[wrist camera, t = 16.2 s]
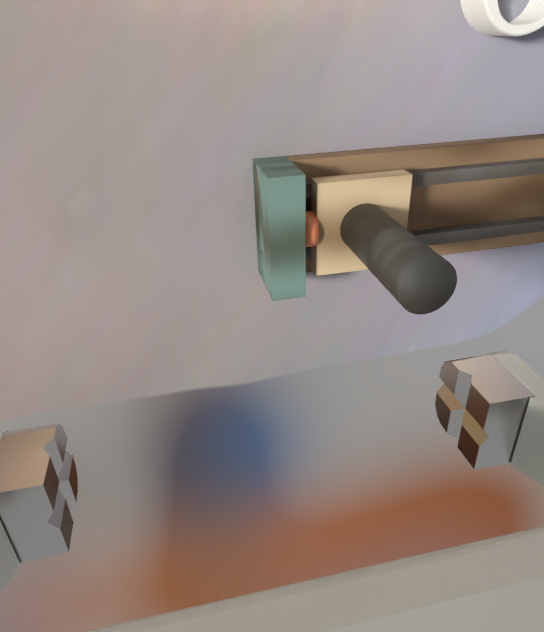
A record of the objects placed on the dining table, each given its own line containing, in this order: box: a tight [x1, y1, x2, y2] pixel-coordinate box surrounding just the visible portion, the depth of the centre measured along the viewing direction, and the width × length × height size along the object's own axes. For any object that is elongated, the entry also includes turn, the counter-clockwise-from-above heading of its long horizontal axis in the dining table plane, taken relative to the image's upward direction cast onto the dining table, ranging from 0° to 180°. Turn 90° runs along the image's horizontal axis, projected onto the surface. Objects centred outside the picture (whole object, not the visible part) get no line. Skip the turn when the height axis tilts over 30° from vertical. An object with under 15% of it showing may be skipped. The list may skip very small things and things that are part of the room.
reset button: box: [306, 210, 319, 247], centre depth 37 cm, size 3×1×3 cm, turn 2°
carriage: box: [311, 169, 457, 314], centre depth 33 cm, size 7×7×12 cm
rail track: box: [253, 134, 544, 301], centre depth 39 cm, size 9×28×6 cm, turn 92°
